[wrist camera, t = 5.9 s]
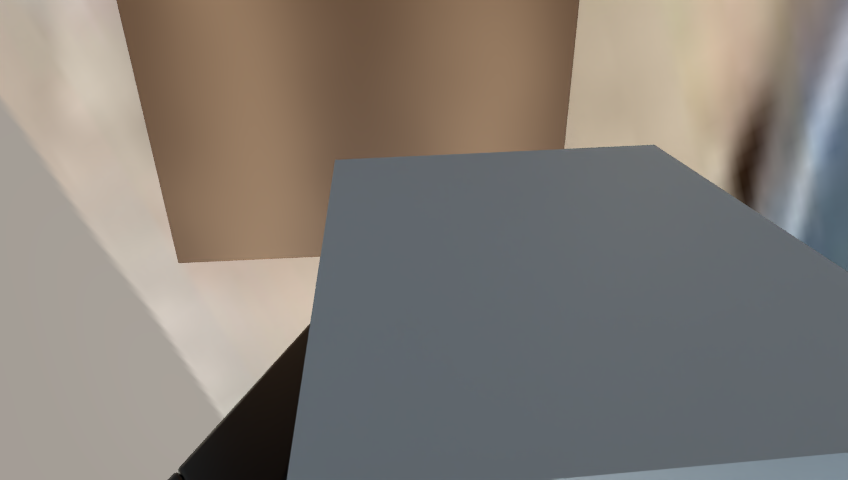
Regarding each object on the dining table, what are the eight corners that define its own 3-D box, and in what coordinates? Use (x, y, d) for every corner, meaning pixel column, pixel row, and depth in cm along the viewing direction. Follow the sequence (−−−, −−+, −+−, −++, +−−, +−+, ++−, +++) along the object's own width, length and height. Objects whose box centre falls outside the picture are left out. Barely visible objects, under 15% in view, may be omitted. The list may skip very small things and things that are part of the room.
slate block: (654, 144, 9) (1091, 431, 4) (612, 388, 11) (838, 787, 6) (335, 159, 8) (283, 505, 3) (358, 409, 11) (351, 854, 5)
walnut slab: (552, -177, 17) (601, -215, 13) (525, 199, 22) (554, 245, 18) (135, -178, 16) (64, -219, 12) (211, 211, 21) (178, 263, 18)
